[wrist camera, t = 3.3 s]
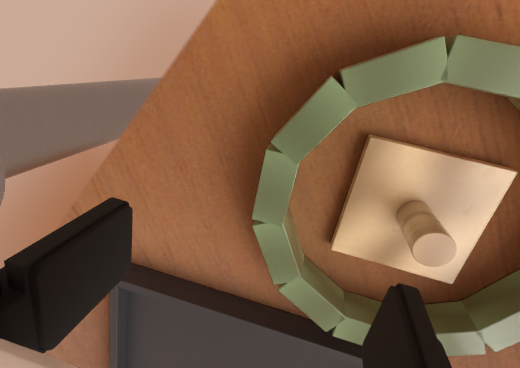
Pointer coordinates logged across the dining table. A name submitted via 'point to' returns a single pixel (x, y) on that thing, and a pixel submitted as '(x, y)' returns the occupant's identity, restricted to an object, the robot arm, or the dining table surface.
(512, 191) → the dining table surface
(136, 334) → the tray
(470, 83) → the green ring
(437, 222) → the peg
